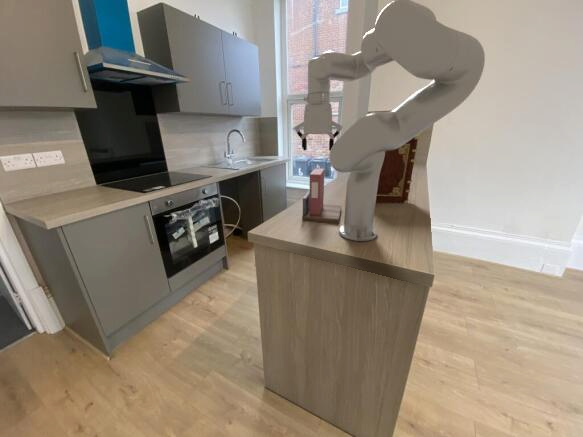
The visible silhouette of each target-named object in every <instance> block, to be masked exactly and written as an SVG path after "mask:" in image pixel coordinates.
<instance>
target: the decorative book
mask: <svg viewBox="0 0 583 437" xmlns="http://www.w3.org/2000/svg"><path fill="white" fill-rule="evenodd" d="M419 139H420V134H418V135H417V136H415V137H414V138H412V139H411V140H409V141H408V142H407V143H405V144H404V145H402V146H401V147H399V148H397V149H395V150H390V151H385V157H384V161H383V164H382V168H381V171H380V175H379V181H378V189H377V196H376V204H405V205H406V204H407V205H408V203H409V194H410V192H411V183H413V182H412V181H413V180H412V175H413V170H414V164H415V162H416V153H417V151H418V149H417V146H418V141H419Z"/></svg>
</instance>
